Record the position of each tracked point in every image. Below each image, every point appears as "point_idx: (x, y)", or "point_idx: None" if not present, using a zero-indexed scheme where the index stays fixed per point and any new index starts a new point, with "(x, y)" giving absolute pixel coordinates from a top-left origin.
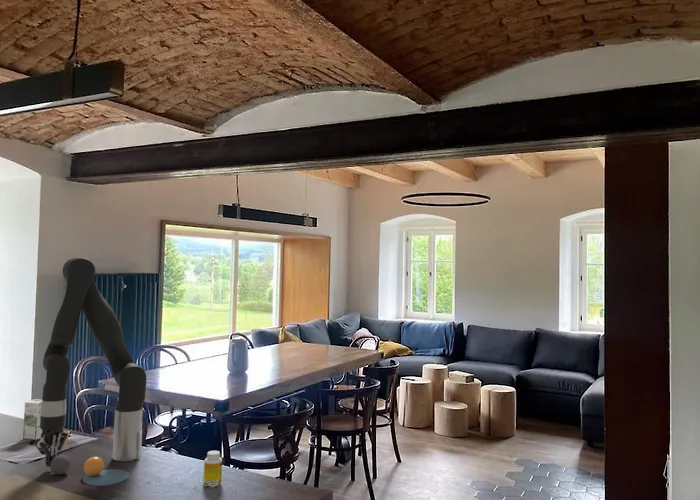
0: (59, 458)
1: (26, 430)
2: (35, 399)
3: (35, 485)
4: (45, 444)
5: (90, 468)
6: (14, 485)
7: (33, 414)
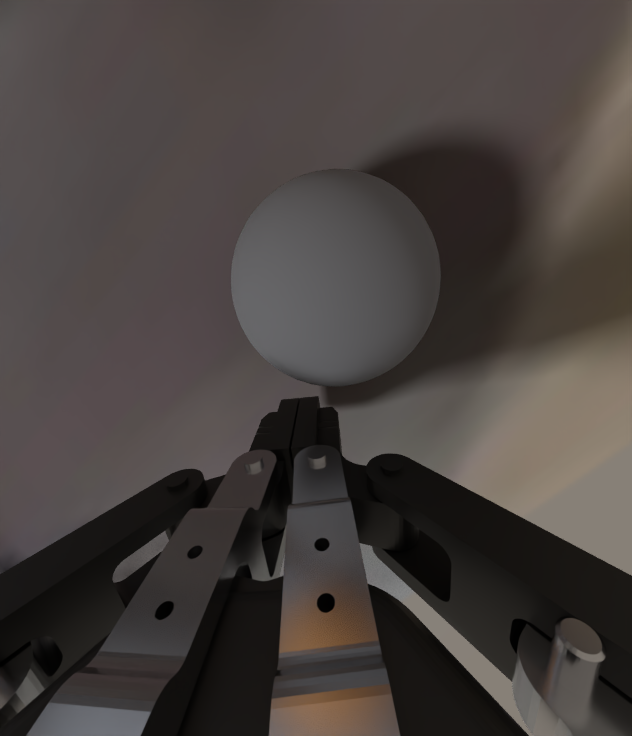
0: (405, 257)
1: None
2: None
3: (608, 255)
4: (572, 624)
5: None
6: (626, 393)
7: None
